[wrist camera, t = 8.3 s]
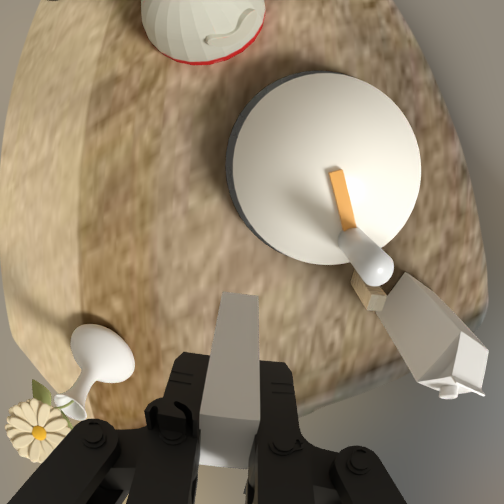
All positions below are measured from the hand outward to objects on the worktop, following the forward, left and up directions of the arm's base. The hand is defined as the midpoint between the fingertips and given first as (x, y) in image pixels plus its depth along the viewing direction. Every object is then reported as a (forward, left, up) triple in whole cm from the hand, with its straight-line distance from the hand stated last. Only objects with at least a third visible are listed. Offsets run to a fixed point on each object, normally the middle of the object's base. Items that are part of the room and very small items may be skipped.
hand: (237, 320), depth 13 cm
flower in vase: (+24, -20, -24) cm, 40 cm away
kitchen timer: (-23, -8, -24) cm, 34 cm away
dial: (-6, +8, -22) cm, 24 cm away
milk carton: (+10, +24, -24) cm, 36 cm away
